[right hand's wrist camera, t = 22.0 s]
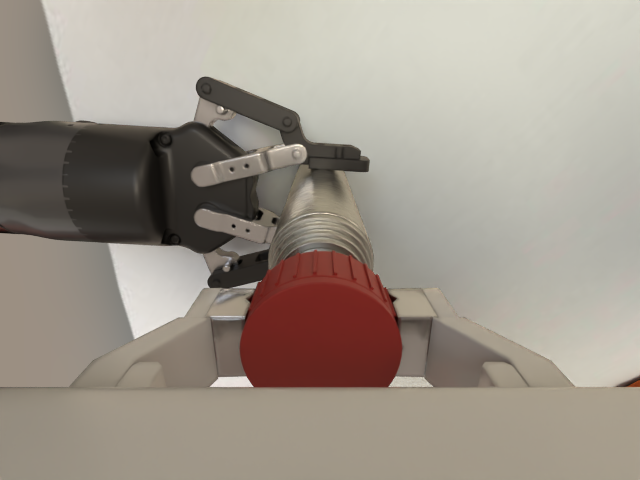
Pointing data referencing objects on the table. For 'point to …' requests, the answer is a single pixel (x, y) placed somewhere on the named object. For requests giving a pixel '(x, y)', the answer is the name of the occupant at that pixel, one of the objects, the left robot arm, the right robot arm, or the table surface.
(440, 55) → the table surface
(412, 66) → the table surface
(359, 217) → the bottle
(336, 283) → the cap
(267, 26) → the table surface
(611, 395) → the right robot arm
